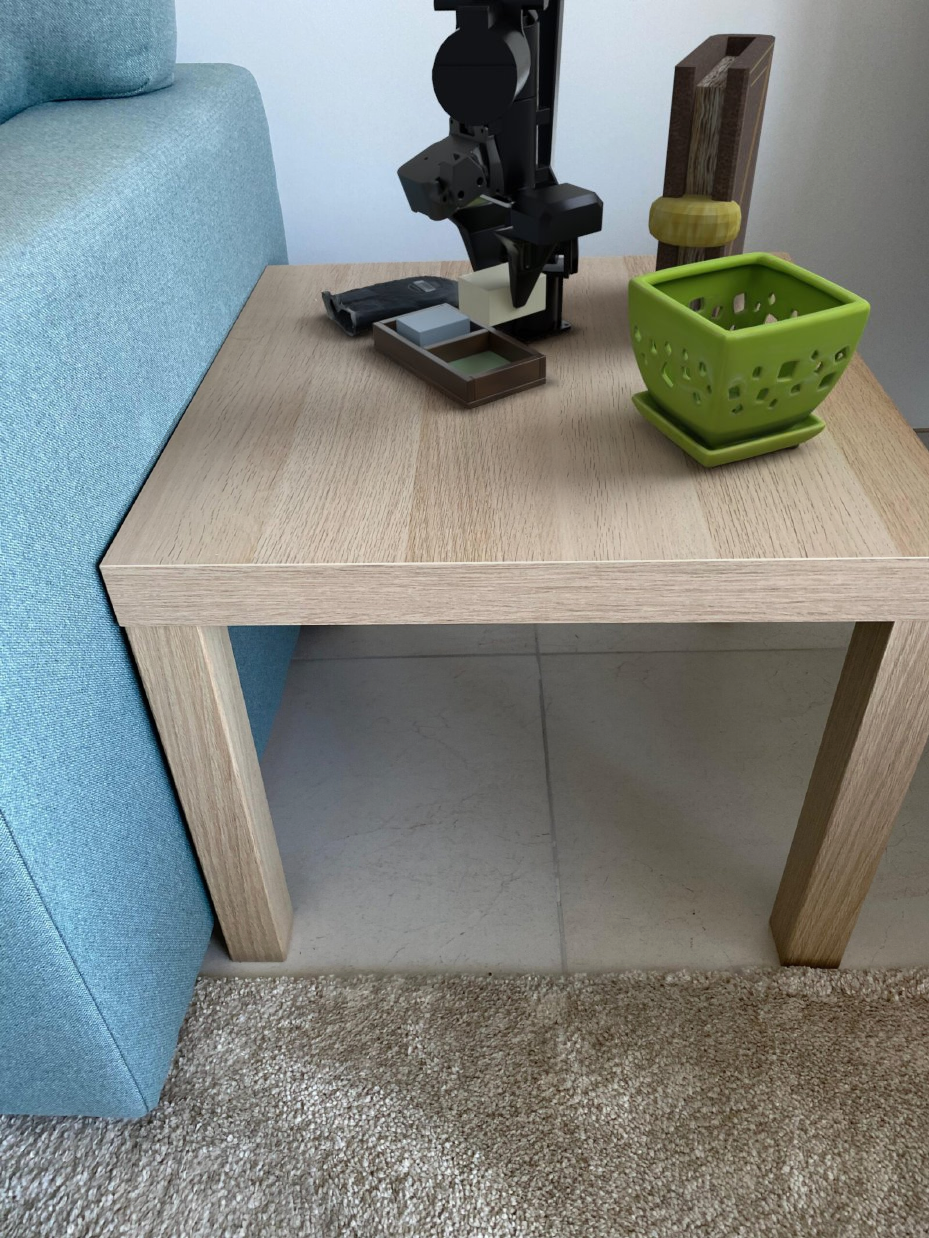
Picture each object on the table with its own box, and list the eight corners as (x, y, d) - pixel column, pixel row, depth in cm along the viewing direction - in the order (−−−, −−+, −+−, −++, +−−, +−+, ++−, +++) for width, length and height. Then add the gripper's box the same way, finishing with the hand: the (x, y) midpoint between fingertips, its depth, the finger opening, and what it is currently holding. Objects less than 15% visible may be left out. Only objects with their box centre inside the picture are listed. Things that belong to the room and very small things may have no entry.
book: (675, 281, 110) (702, 33, 94) (748, 288, 108) (789, 34, 92) (630, 354, 94) (654, 71, 79) (716, 365, 92) (758, 75, 76)
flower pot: (611, 416, 84) (622, 274, 76) (740, 386, 88) (764, 248, 80) (701, 489, 74) (725, 334, 66) (842, 451, 78) (880, 300, 70)
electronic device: (360, 356, 99) (482, 309, 103) (345, 305, 96) (471, 258, 100) (331, 338, 107) (446, 294, 111) (316, 290, 104) (435, 247, 107)
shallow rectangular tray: (447, 328, 101) (446, 302, 100) (546, 383, 90) (546, 355, 88) (374, 349, 97) (371, 323, 96) (467, 409, 86) (467, 381, 84)
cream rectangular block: (514, 294, 84) (514, 260, 82) (545, 309, 81) (546, 274, 79) (458, 311, 81) (457, 276, 79) (489, 327, 78) (488, 291, 76)
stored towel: (446, 333, 99) (445, 304, 97) (470, 346, 96) (469, 317, 94) (397, 347, 96) (395, 318, 94) (421, 361, 93) (419, 332, 91)
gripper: (346, 92, 73) (366, 290, 83) (485, 135, 61) (489, 360, 71) (463, 71, 78) (469, 261, 88) (614, 108, 66) (601, 323, 76)
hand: (502, 298), depth 80 cm, fingers closed on cream rectangular block, 4 cm apart
